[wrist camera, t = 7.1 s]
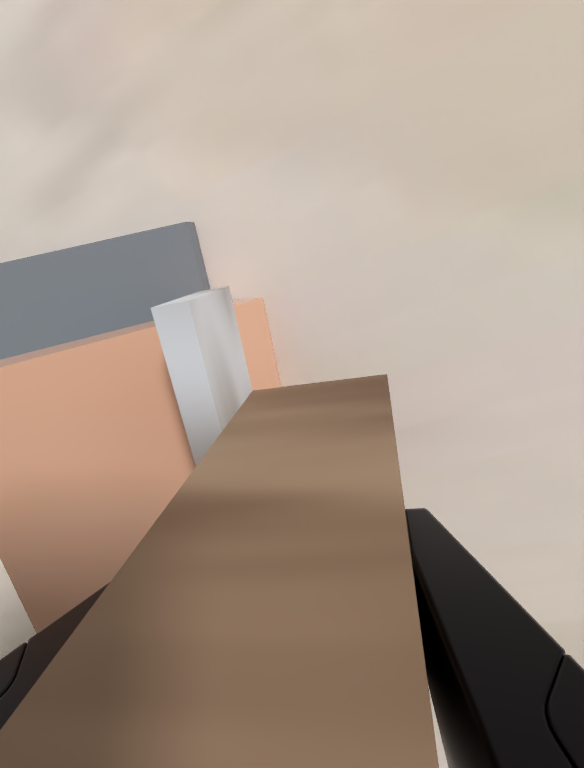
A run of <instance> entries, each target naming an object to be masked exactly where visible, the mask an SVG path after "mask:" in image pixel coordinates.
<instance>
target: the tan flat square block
mask: <svg viewBox="0 0 584 768" xmlns="http://www.w3.org/2000/svg"><path fill="white" fill-rule="evenodd" d="M232 302H233V306H234V311H235V315H236V320H237V324H238V328H239V333H240V337H241V342H242V346H243V351H244V355H245V359H246V364H247V368H248V373H249V377H250V382H251V386H252V391H253V390H261V389H269V388H278V387H281V383H280V378H279V374H278V369H277V364H276V359H275V354H274V349H273V344H272V339H271V334H270V330H269V325H268V320H267V315H266V310H265V305H264V300H263V298H253V299H236V300H232ZM195 467H196V465H195V462H194V458H193V455H192V451H191V448H190V444H189V441H188V437H187V434H186V430H185V427H184V423H183V420H182V416H181V413H180V409H179V406H178V402H177V399H176V395H175V392H174V388H173V385H172V381H171V378H170V374H169V371H168V367H167V364H166V360H165V357H164V353H163V350H162V346H161V343H160V339H159V336H158V333H157V329H156V326H155V322H154V321H150V322H146V323H142V324H139V325H135V326H131V327H127V328H123V329H119V330H115V331H111V332H107V333H103V334H99V335H95V336H92V337H88V338H84V339H80V340H76V341H72V342H68V343H64V344H60V345H56V346H52V347H49V348H45V349H41V350H37V351H33V352H29V353H25V354H21V355H17V356H13V357H9V358H5V359H2V360H0V559H1V561H2V563H3V565H4V567H5V569H6V571H7V573H8V575H9V577H10V579H11V581H12V583H13V585H14V587H15V589H16V591H17V594H18V596H19V598H20V600H21V602H22V604H23V606H24V608H25V610H26V612H27V614H28V616H29V618H30V620H31V622H32V624H33V627H34V629H35V631H36V633H39V632H40V631H42V630H43V629H44V628H46V627H47V626H49V625H50V624H51V623H53V622H54V621H56V620H57V619H58V618H60V617H61V616H63V615H64V614H65V613H67V612H68V611H70V610H71V609H73V608H74V607H75V606H77V605H78V604H80V603H81V602H82V601H84V600H85V599H87V598H88V597H89V596H91V595H92V594H94V593H95V592H96V591H98V590H99V589H101V588H102V587H103V586H105V585H106V584H108V583H109V582H110V581H111V580H112V579H113V578H114V576H115V575H116V574H117V572H118V571H119V570H120V568H121V567H122V566H123V564H124V563H125V562H126V560H127V559H128V558H129V556H130V555H131V553H132V552H133V551H134V549H135V548H136V547H137V545H138V544H139V543H140V541H141V540H142V539H143V537H144V536H145V535H146V533H147V532H148V531H149V529H150V528H151V527H152V525H153V524H154V523H155V521H156V520H157V518H158V517H159V516H160V514H161V513H162V512H163V510H164V509H165V508H166V506H167V505H168V504H169V502H170V501H171V500H172V498H173V497H174V496H175V494H176V493H177V492H178V490H179V489H180V487H181V486H182V485H183V483H184V482H185V481H186V479H187V478H188V477H189V475H190V474H191V473H192V471H193V470H194V469H195Z"/></svg>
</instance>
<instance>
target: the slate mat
mask: <svg viewBox="0 0 584 768" xmlns="http://www.w3.org/2000/svg"><path fill="white" fill-rule="evenodd" d="M205 290H210V286H209V282H208V278H207V274H206V269H205V265H204V261H203V257H202V253H201V249H200V245H199V240H198V236H197V232H196V228H195V224H194V222H184V223H179V224H175V225H170V226H166V227H161V228H157V229H152V230H148V231H143V232H139V233H134V234H130V235H125V236H121V237H116V238H112V239H107V240H103V241H98V242H94V243H89V244H85V245H81V246H76V247H72V248H67V249H63V250H58V251H54V252H49V253H45V254H40V255H36V256H31V257H27V258H22V259H18V260H13V261H9V262H4V263H0V360H2V359H5V358H9V357H13V356H17V355H21V354H25V353H29V352H33V351H37V350H41V349H45V348H49V347H52V346H56V345H60V344H64V343H68V342H72V341H76V340H80V339H84V338H88V337H92V336H95V335H99V334H103V333H107V332H111V331H115V330H119V329H123V328H127V327H131V326H135V325H139V324H142V323H146V322H150V321H154V319H153V315H152V312H151V308H152V307H155V306H157V305H160V304H163V303H166V302H169V301H172V300H175V299H178V298H181V297H184V296H187V295H190V294H193V293H196V292H199V291H205Z"/></svg>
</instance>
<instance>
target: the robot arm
mask: <svg viewBox="0 0 584 768" xmlns="http://www.w3.org/2000/svg"><path fill="white" fill-rule="evenodd" d="M405 515H406V522H407V530H408V538H409V545H410V553H411V560H412V568H413V575H414V583H415V591H416V598H417V606H418V613H419V621H420V628H421V636H422V644H423V651H424V659H425V666H426V674H427V681H428V685H429V689H430V693H431V697H432V701H433V705H434V710H435V714H436V718H437V722H438V726H439V730H440V734H441V738H442V742H443V746H444V750H445V755H446V759H447V763H448V767H449V768H584V669H583V668H582V667H581V666H580V665H579V664H578V663H577V662H576V661H575V660H574V659H573V658H572V657H571V656H570V655H565V650H564V649H563V648H562V647H561V646H560V645H559V644H558V643H557V642H556V641H555V640H554V639H553V638H552V637H551V636H550V635H549V634H548V633H547V632H546V631H545V630H544V629H543V628H542V627H541V625H540V624H539V623H538V622H537V621H536V620H535V619H534V618H533V617H532V616H531V615H530V614H529V613H528V612H527V611H526V610H525V609H524V608H523V607H522V606H521V605H520V604H519V603H518V602H517V601H516V600H515V599H514V598H513V597H512V596H511V595H510V594H509V593H508V592H507V591H506V590H505V589H504V588H503V587H502V586H501V585H500V584H499V583H498V582H497V580H496V579H495V578H494V577H493V576H492V575H491V574H490V573H489V572H488V571H487V570H486V569H485V568H484V567H483V566H482V565H481V564H480V563H479V562H478V561H477V560H476V559H475V558H474V557H473V556H472V555H471V554H470V553H469V552H468V551H467V550H466V549H465V548H464V547H463V546H462V545H461V544H460V543H459V542H458V541H457V540H456V539H455V538H454V536H453V535H452V534H451V533H450V532H449V531H448V530H447V529H446V528H445V527H444V526H443V525H442V524H441V523H440V522H439V521H438V520H437V519H436V518H435V517H434V516H433V515H432V514H431V513H430V512H429V511H428V510H427V509H425V508H418V509H405ZM110 582H111V581H110ZM110 582H109V583H110ZM109 583H108V584H109ZM108 584H106V585H105V586H103V587H102V588H101V589H99V590H98V591H96V592H95V593H94V594H92V595H91V596H89V597H88V598H87V599H85V600H84V601H82V602H81V603H80V604H78V605H77V606H75V607H74V608H73V609H71V610H70V611H68V612H67V613H65V614H64V615H63V616H61V617H60V618H58V619H57V620H56V621H54V622H53V623H51V624H50V625H49V626H47V627H46V628H44V629H43V630H42V631H40V632H39V633H37V634H36V635H35V636H33V637H32V638H30V639H29V641H28V643H23V644H22V645H20V646H19V647H17V648H16V649H15V650H13V651H12V652H11V653H9V654H8V655H6V656H5V657H4V658H2V659H1V660H0V730H1V729H2V727H3V726H4V725H5V723H6V722H7V720H8V719H9V718H10V716H11V715H12V714H13V712H14V711H15V710H16V708H17V707H18V706H19V704H20V703H21V702H22V700H23V699H24V698H25V696H26V695H27V694H28V692H29V691H30V690H31V688H32V687H33V685H34V684H35V683H36V681H37V680H38V679H39V677H40V676H41V675H42V673H43V672H44V671H45V669H46V668H47V667H48V665H49V664H50V663H51V661H52V660H53V659H54V657H55V656H56V654H57V653H58V652H59V650H60V649H61V648H62V646H63V645H64V644H65V642H66V641H67V640H68V638H69V637H70V636H71V634H72V633H73V632H74V630H75V629H76V628H77V626H78V625H79V624H80V622H81V621H82V619H83V618H84V617H85V615H86V614H87V613H88V611H89V610H90V609H91V607H92V606H93V605H94V603H95V602H96V601H97V599H98V598H99V597H100V595H101V594H102V593H103V591H104V590H105V589H106V587H107V586H108Z"/></svg>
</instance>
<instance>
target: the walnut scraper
mask: <svg viewBox="0 0 584 768" xmlns="http://www.w3.org/2000/svg"><path fill="white" fill-rule="evenodd" d="M151 312H152V315H153V319H154V322H155V326H156V329H157V333H158V336H159V339H160V343H161V346H162V350H163V353H164V357H165V360H166V364H167V367H168V371H169V374H170V378H171V381H172V385H173V388H174V392H175V395H176V399H177V402H178V406H179V409H180V413H181V416H182V420H183V423H184V427H185V430H186V434H187V437H188V441H189V444H190V448H191V451H192V455H193V458H194V462H195V465H196V467H195V469H194V470H193V471H192V473H191V474H190V475H189V477H188V478H187V479H186V481H185V482H184V483H183V485H182V486H181V487H180V489H179V490H178V492H177V493H176V494H175V496H174V497H173V498H172V500H171V501H170V502H169V504H168V505H167V506H166V508H165V509H164V510H163V512H162V513H161V514H160V516H159V517H158V518H157V520H156V521H155V523H154V524H153V525H152V527H151V528H150V529H149V531H148V532H147V533H146V535H145V536H144V537H143V539H142V540H141V541H140V543H139V544H138V545H137V547H136V548H135V549H134V551H133V552H132V553H131V555H130V556H129V558H128V559H127V560H126V562H125V563H124V564H123V566H122V567H121V568H120V570H119V571H118V572H117V574H116V575H115V576H114V578H113V579H112V580H111V582H110V583H109V584H108V586H107V587H106V589H105V590H104V591H103V593H102V594H101V595H100V597H99V598H98V599H97V601H96V602H95V603H94V605H93V606H92V607H91V609H90V610H89V611H88V613H87V614H86V615H85V617H84V618H83V619H82V621H81V622H80V624H79V625H78V626H77V628H76V629H75V630H74V632H73V633H72V634H71V636H70V637H69V638H68V640H67V641H66V642H65V644H64V645H63V646H62V648H61V649H60V650H59V652H58V653H57V654H56V656H55V657H54V659H53V660H52V661H51V663H50V664H49V665H48V667H47V668H46V669H45V671H44V672H43V673H42V675H41V676H40V677H39V679H38V680H37V681H36V683H35V684H34V685H33V687H32V688H31V690H30V691H29V692H28V694H27V695H26V696H25V698H24V699H23V700H22V702H21V703H20V704H19V706H18V707H17V708H16V710H15V711H14V712H13V714H12V715H11V716H10V718H9V719H8V720H7V722H6V723H5V725H4V726H3V727H2V729H1V730H0V768H439V765H438V757H437V750H436V742H435V735H434V727H433V719H432V712H431V704H430V697H429V689H428V681H427V674H426V666H425V659H424V651H423V644H422V636H421V628H420V621H419V613H418V606H417V598H416V591H415V583H414V575H413V568H412V560H411V553H410V545H409V538H408V530H407V522H406V515H405V507H404V500H403V492H402V485H401V477H400V469H399V462H398V454H397V447H396V439H395V431H394V424H393V416H392V409H391V401H390V394H389V386H388V378H387V374H386V375H377V376H369V377H361V378H353V379H344V380H336V381H328V382H319V383H311V384H303V385H294V386H286V387H278V388H269V389H261V390H253V391H252V386H251V382H250V377H249V373H248V368H247V364H246V359H245V355H244V351H243V346H242V342H241V337H240V333H239V328H238V324H237V320H236V315H235V311H234V306H233V302H232V297H231V293H230V289H229V286H227V287H221V288H216V289H210V290H205V291H199V292H196V293H193V294H190V295H187V296H184V297H181V298H178V299H175V300H172V301H169V302H166V303H163V304H160V305H157V306H155V307H152V308H151Z"/></svg>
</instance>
